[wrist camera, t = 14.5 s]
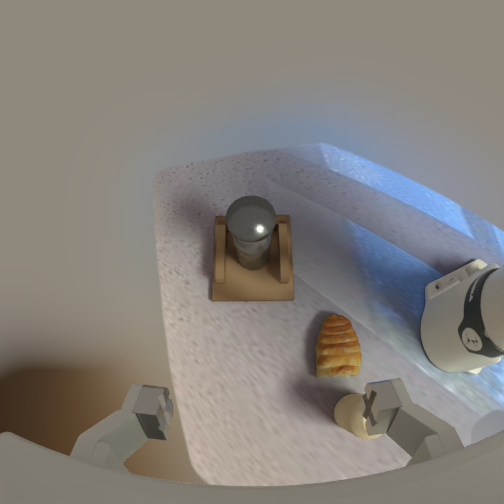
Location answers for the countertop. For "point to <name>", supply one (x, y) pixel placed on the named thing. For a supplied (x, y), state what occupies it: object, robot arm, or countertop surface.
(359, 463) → the countertop surface
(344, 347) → the pastry
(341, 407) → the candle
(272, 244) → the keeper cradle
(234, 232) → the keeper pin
